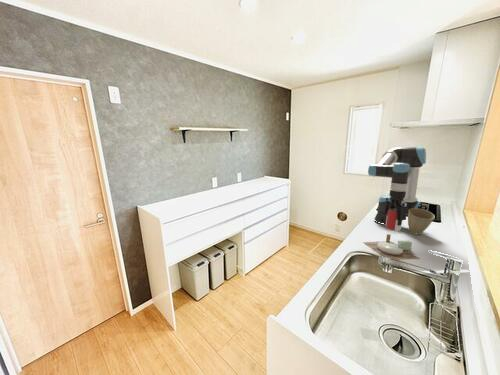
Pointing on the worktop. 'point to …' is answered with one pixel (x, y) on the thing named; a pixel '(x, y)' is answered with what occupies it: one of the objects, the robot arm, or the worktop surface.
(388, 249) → the white oval dish
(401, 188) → the robot arm
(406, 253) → the board
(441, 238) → the worktop surface
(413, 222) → the plant pot
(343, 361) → the worktop surface
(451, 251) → the worktop surface
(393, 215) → the beer can
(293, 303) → the worktop surface
